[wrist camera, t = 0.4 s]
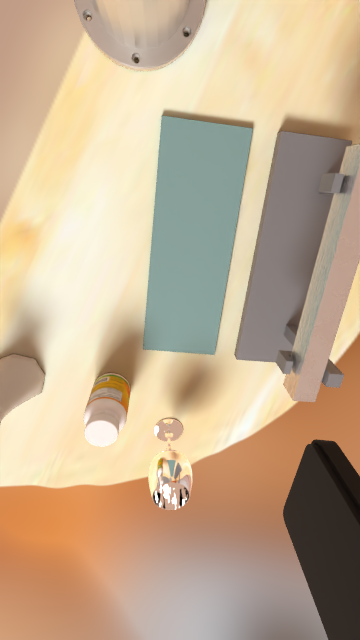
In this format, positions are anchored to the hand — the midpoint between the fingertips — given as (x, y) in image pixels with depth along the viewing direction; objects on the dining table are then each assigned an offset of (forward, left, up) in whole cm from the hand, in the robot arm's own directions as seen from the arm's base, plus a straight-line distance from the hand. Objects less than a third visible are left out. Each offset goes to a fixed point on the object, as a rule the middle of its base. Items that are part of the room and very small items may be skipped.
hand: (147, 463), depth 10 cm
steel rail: (0, +16, -24) cm, 29 cm away
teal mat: (0, +4, -35) cm, 35 cm away
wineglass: (+28, +4, -35) cm, 45 cm away
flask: (+20, -18, -35) cm, 44 cm away
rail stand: (0, +16, -35) cm, 38 cm away
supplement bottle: (+21, -5, -35) cm, 41 cm away
